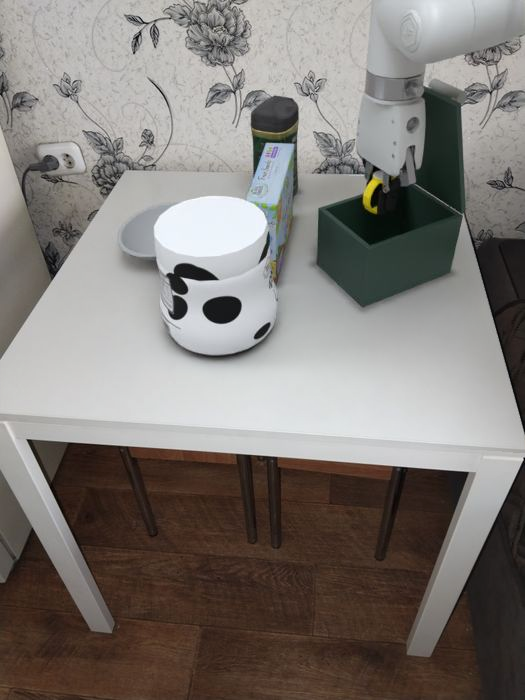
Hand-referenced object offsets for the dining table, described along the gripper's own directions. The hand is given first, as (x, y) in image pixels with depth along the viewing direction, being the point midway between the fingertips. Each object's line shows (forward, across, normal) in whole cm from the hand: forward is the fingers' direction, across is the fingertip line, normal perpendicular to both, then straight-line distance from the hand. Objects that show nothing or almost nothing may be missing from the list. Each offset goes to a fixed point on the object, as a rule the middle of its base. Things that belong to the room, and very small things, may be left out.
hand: (380, 206), depth 90 cm
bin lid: (-8, 0, -8) cm, 11 cm away
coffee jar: (+12, +31, +1) cm, 33 cm away
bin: (+12, 0, -2) cm, 13 cm away
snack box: (+12, +15, +11) cm, 22 cm away
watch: (+1, 0, 0) cm, 1 cm away
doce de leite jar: (+13, +1, +28) cm, 30 cm away
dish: (+12, +24, +28) cm, 39 cm away
